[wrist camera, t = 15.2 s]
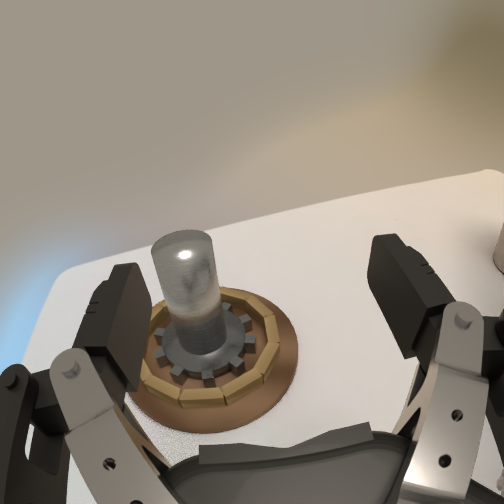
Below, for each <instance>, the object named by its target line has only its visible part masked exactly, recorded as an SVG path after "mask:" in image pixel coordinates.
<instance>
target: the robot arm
mask: <svg viewBox="0 0 504 504" xmlns="http://www.w3.org/2000/svg"><path fill="white" fill-rule="evenodd" d="M493 259H494V262H495V264H496V266H497V267H498V268H499V269H500V270H501V271H502V272H503V273H504V223H503V227H502V230H501V233H500V236H499V239H498V242H497V245H496V249H495V252H494V255H493ZM367 279H368V284H369V287H370V290H371V291H372V293H373V295H374V297H375V299H376V301H377V303H378V305H379V307H380V309H381V311H382V313H383V315H384V317H385V319H386V321H387V323H388V325H389V327H390V329H391V331H392V333H393V335H394V338H395V340H396V342H397V344H398V346H399V348H400V350H401V352H402V355H403V357H404V359H408V358H412V357H415V356H417V358H418V360H419V363H418V364H417V367H416V370H415V373H414V377H413V380H412V383H411V387H410V390H409V393H408V396H407V399H406V402H405V405H404V408H403V411H402V413H401V415H400V418H399V419H398V421H397V423H396V425H395V427H394V429H393V431H392V433H388V432H382V431H371V428H370V424H369V422H365V423H361V424H357V425H353V426H349V427H345V428H340V429H335V430H331V431H328V432H325V433H323V434H321V435H319V436H316V437H314V438H312V439H309V440H307V441H305V442H302V443H300V444H297V445H295V446H292V447H289V448H276V447H267V446H258V445H251V444H244V443H236V444H219V445H199V455H196V456H193V457H190V458H187V459H185V460H183V461H181V462H179V463H177V464H175V465H174V466H171V465H170V463H169V462H168V461H167V460H166V459H165V457H164V456H163V455H162V454H161V453H160V452H159V451H158V449H157V448H156V447H155V446H154V445H153V443H152V442H151V440H150V439H149V438H148V436H147V435H146V433H145V432H144V430H143V429H142V427H141V426H140V424H139V423H138V421H137V420H136V418H135V417H134V415H133V414H132V412H131V411H130V409H129V407H128V406H127V404H126V403H125V402H124V398H125V393H126V392H138V386H139V380H140V374H141V368H142V362H143V356H144V351H145V345H146V340H147V335H148V330H149V325H150V320H151V315H152V302H151V297H150V294H149V292H148V289H147V286H146V284H145V281H144V278H143V276H142V273H141V270H140V268H139V266H138V264H137V263H126V264H118V265H115V266H114V267H113V269H112V272H111V274H110V277H109V279H108V280H106V281H103V282H102V283H101V284H100V285H99V286H98V287H97V288H96V290H95V291H94V292H93V295H92V297H91V300H90V302H89V305H88V307H87V309H86V314H84V317H83V319H82V322H81V325H80V327H79V330H78V333H77V335H76V338H75V341H74V344H73V346H72V348H71V349H68V350H65V351H63V352H62V353H60V354H59V355H58V356H57V357H56V358H55V359H54V361H53V362H52V364H51V367H50V369H47V370H43V371H40V372H36V373H32V374H31V373H30V372H29V371H28V370H27V368H26V367H25V366H23V365H21V364H14V365H11V366H9V367H8V368H7V369H5V370H4V371H3V372H2V374H1V375H0V504H66V497H67V482H68V471H69V461H70V452H71V454H72V456H73V459H74V461H75V463H76V465H77V467H78V469H79V471H80V473H81V475H82V477H83V479H84V481H85V483H86V484H87V486H88V488H89V490H90V492H91V494H92V495H93V497H94V499H95V501H96V502H97V504H504V468H503V471H502V475H501V476H500V477H499V479H498V480H497V488H498V490H499V491H502V493H501V495H499V494H497V493H495V492H493V491H492V490H490V489H488V488H486V487H485V486H483V485H481V484H479V483H478V482H476V481H474V480H473V479H471V476H472V472H473V468H474V465H475V461H476V457H477V453H478V448H479V444H480V439H481V434H482V429H483V423H484V417H485V414H486V416H487V419H488V422H489V424H490V427H491V430H492V433H493V435H494V438H495V441H496V444H497V447H498V450H499V453H500V457H501V460H502V463H503V467H504V309H503V311H502V313H501V315H500V317H488V316H482V315H481V314H480V312H479V311H478V310H477V309H476V308H475V307H473V306H472V305H470V304H468V303H465V302H460V301H457V302H456V300H455V299H454V297H453V296H452V294H451V293H450V292H449V290H448V289H447V287H446V286H445V285H444V283H443V282H442V281H441V279H440V278H439V277H438V275H437V274H435V271H434V270H433V269H432V267H431V266H429V263H428V262H427V261H426V259H425V258H424V257H423V256H422V254H421V253H419V252H418V251H416V250H415V249H413V248H412V247H410V246H406V245H405V244H404V243H403V241H402V240H401V239H400V238H399V236H398V235H397V234H395V233H394V234H385V235H376V236H374V238H373V241H372V247H371V253H370V259H369V265H368V271H367ZM30 424H31V425H33V426H34V432H33V437H32V442H31V448H30V454H29V460H28V459H27V457H26V455H25V444H26V439H27V434H28V429H29V425H30Z"/></svg>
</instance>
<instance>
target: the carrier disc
mask: <svg viewBox="0 0 504 504" xmlns="http://www.w3.org/2000/svg"><path fill="white" fill-rule="evenodd" d="M219 289H220V295H221V300H222V303H223V302H226V303H229V304H232V310H233V314H235V315H236V316H237V317H240V316H242V315H245V314H248V316H249V317H250V318H251V319H252V331H250V332H247V333H246V335H256V342H257V349H256V354H250V353H245V356H244V358H243V360H244V362H245V369H246V371H245V372H244V373H243V374H242V375H240V376H239V377H237V376H236V375H235V374H233V373H232V372H229V373H227V374H225V375H223V376H221V377H218V378H215V382H216V387H215V388H205V386H204V383H203V380H195V379H190V378H188V379H187V380H186V382H185V383H184V384H183V386H182V385H180V384H177V383H175V382H174V381H173V379H172V377H171V375H170V371H171V369H172V367H171V366H170V365H168V366H166V367H163V368H160V366H159V364H158V362H157V360H156V358H155V355H154V353H153V351H155V350H158V349H161V348H162V345H158V344H157V342H156V339H155V337H154V333H155V331H156V328H163V329H166V327H167V326H168V325H169V323H170V322H171V319H170V316H169V311H168V308H167V304H166V301H165V300H163V301H161V302H159V303H158V304H156V305H155V306H154V307H152V315H151V320H150V325H149V330H148V335H147V340H146V345H145V351H144V356H143V362H142V368H141V374H140V380H139V386H138V392H128V393H129V395H130V396H131V398H132V399H133V401H134V402H135V403H136V404H137V406H138V407H139V408H140V409H141V410H142V411H143V412H144V413H145V414H146V415H147V416H149V417H150V418H152V419H153V420H155V421H156V422H158V423H160V424H162V425H165V426H167V427H169V428H172V429H176V430H179V431H184V432H190V433H216V432H223V431H227V430H232V429H235V428H238V427H241V426H243V425H246V424H248V423H250V422H252V421H254V420H256V419H258V418H259V417H261V416H262V415H264V414H265V413H266V412H268V411H269V410H271V409H272V408H273V407H274V406H275V405H276V404H277V403H278V402H279V401H280V399H281V398H282V397H283V396H284V394H285V393H286V392H287V390H288V388H289V386H290V385H291V383H292V380H293V378H294V375H295V372H296V367H297V360H298V342H297V336H296V333H295V330H294V327H293V326H292V324H291V322H290V320H289V319H288V318H287V316H286V315H285V314H284V312H282V311H281V310H280V309H279V308H278V307H277V306H276V305H274V304H273V303H272V302H270V301H269V300H267V299H265V298H263V297H261V296H259V295H257V294H254V293H251V292H248V291H244V290H239V289H233V288H226V287H221V288H220V286H219Z"/></svg>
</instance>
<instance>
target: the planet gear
mask: <svg viewBox="0 0 504 504" xmlns="http://www.w3.org/2000/svg"><path fill="white" fill-rule="evenodd" d="M151 254H152V258H153V261H154V265H155V268H156V272H157V275H158V279H159V282H160V285H161V289H162V292H163V295H164V298H165V301H166V304H167V308H168V311H169V316H170V319H171V322H170V323H169V325H168V326H167V327H166V329H163V328H156V331H155V333H154V337H155V339H156V342H157V344H158V345H162V348H161V349H158V350H155V351H153V353H154V355H155V358H156V360H157V362H158V364H159V366H160V368H163V367H166V366H168V365H170V366H171V367H172V369H171V371H170V375H171V377H172V379H173V381H174V382H175V383H177V384H180V385H182V386H183V384H184V383H185V382H186V380H187V379H188V378H190V379H195V380H203V383H204V386H205V388H215V387H216V382H215V378H218V377H221V376H223V375H225V374H227V373H229V372H232V373H233V374H235V375H236V376H237V377H239V376H240V375H242V374H243V373H244V372H245V371H246V369H245V362H244V360H243V358H244V356H245V353H250V354H256V349H257V342H256V335H246V333H247V332H250V331H252V319H251V318H250V317H249V316H248V314H245V315H242V316H240V317H237V316H236V315H235V314H233V310H232V304H229V303H226V302H223V303H222V300H221V295H220V289H219V283H218V277H217V271H216V264H215V258H214V252H213V245H212V239H211V237H210V236H209V235H208V234H207V233H205V232H202V231H199V230H182V231H176V232H173V233H170V234H168V235H165V236H164V237H162V238H160V239H159V240H158V241H156V242H155V244H154V245H153V246H152V249H151Z"/></svg>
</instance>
